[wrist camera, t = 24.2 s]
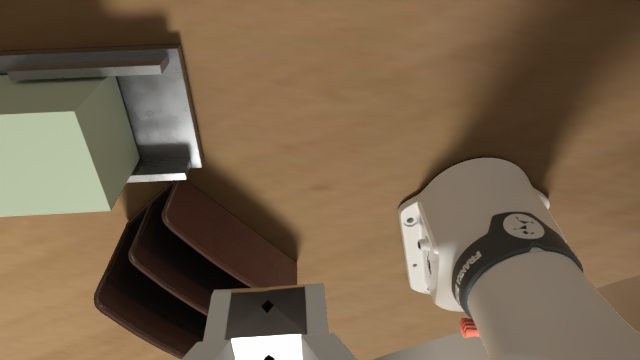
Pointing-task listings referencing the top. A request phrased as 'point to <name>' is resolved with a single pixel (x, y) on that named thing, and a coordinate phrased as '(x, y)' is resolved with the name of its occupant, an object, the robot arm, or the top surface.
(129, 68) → the tray
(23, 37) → the top surface
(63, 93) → the pale green block
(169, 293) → the letter holder
